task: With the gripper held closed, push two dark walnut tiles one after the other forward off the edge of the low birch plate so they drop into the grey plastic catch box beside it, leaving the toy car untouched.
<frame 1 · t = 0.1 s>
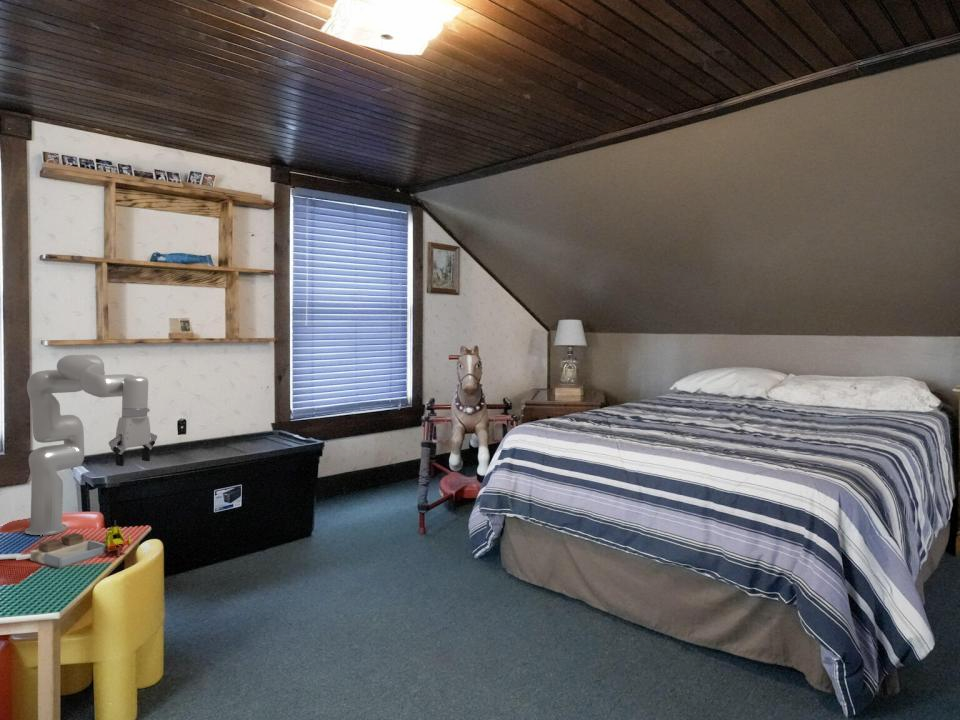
hand: (133, 463, 206), 31 cm above the table, tool pointing down, fingers open, 9 cm apart
tile b: (50, 549, 199), point 3 cm above the table, touching plate
tile a: (71, 543, 206), point 3 cm above the table, touching plate
toy car: (114, 550, 210), on the table
catch box: (75, 559, 200), on the table
plate: (61, 554, 203), on the table
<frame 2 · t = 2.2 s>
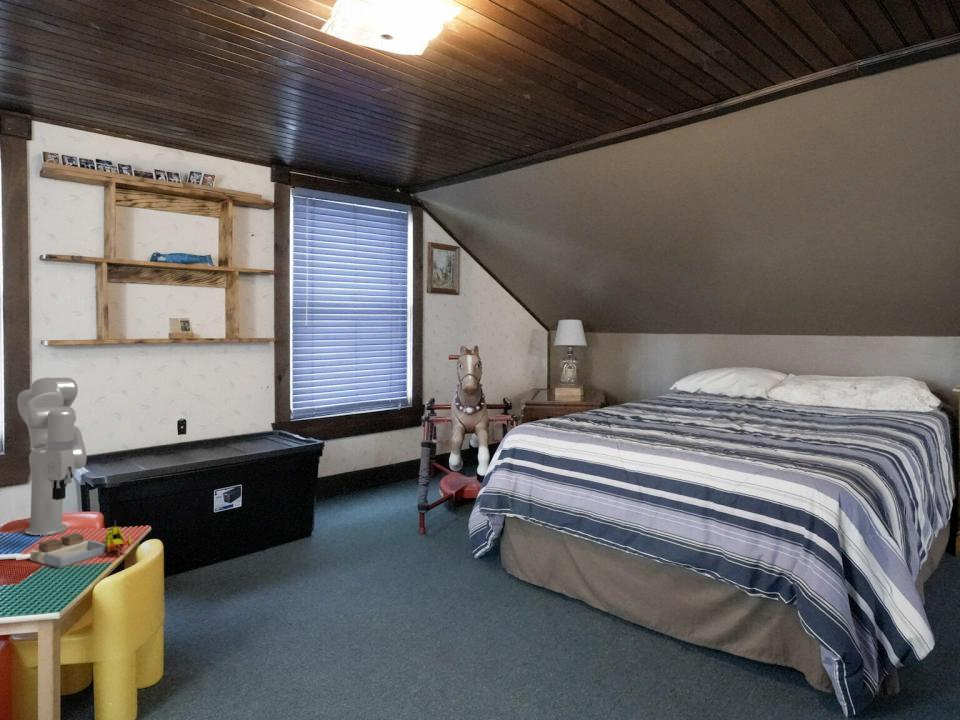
hand: (58, 498, 208), 17 cm above the table, tool pointing down, fingers closed
nothing on the table moved.
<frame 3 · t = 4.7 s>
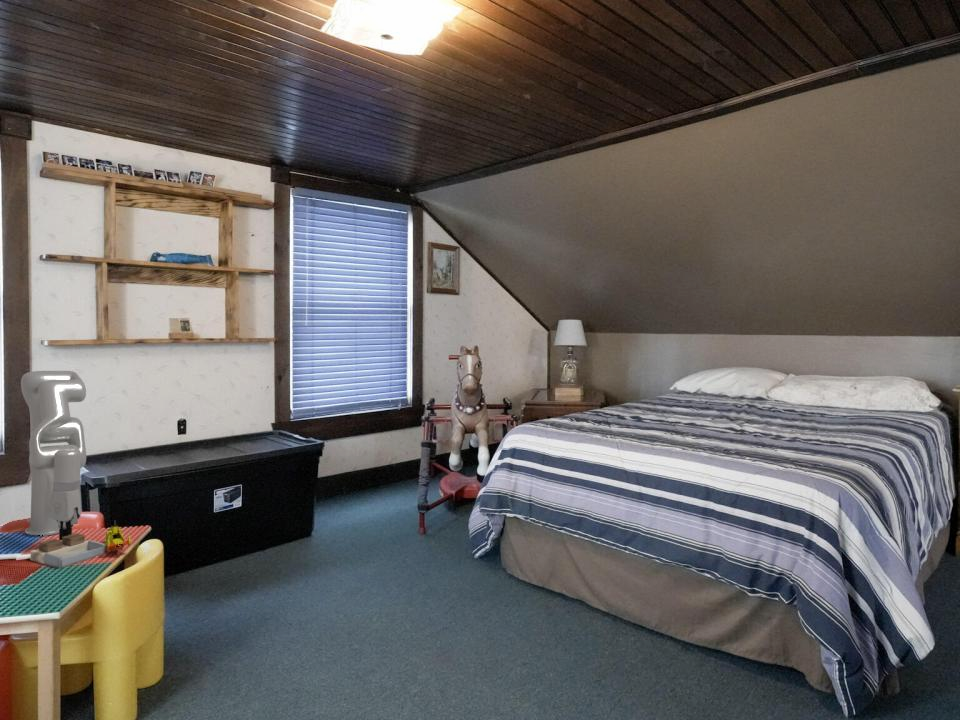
hand: (65, 539, 207), 4 cm above the table, tool pointing down, fingers closed
tile a: (73, 543, 205), point 3 cm above the table, touching gripper
everything else where it was.
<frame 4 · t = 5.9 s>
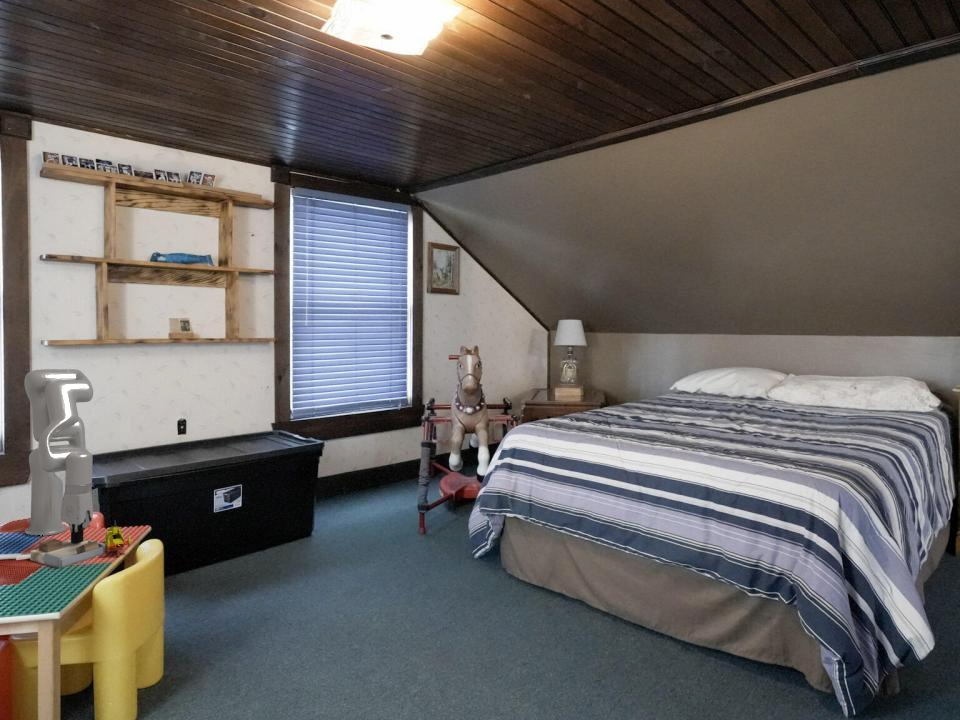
hand: (77, 542, 205), 4 cm above the table, tool pointing down, fingers closed
tile a: (86, 544, 203), point 4 cm above the table, tilted 152°, touching catch box
everything else where it was.
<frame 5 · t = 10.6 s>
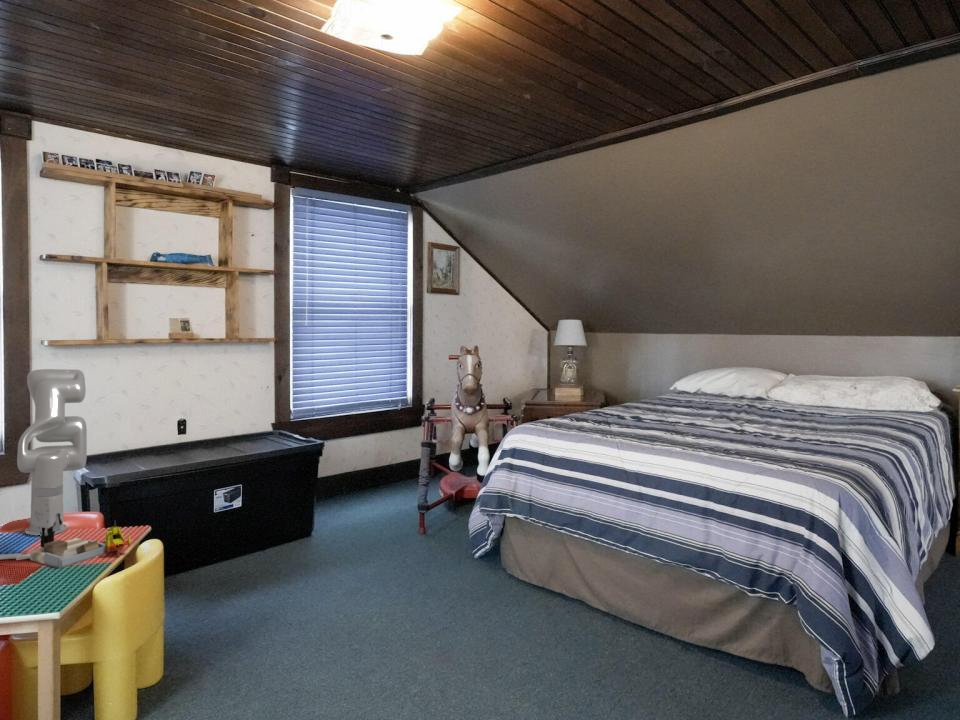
hand: (47, 546, 200), 4 cm above the table, tool pointing down, fingers closed
tile b: (55, 550, 198), point 3 cm above the table, touching gripper, plate
everything else where it was.
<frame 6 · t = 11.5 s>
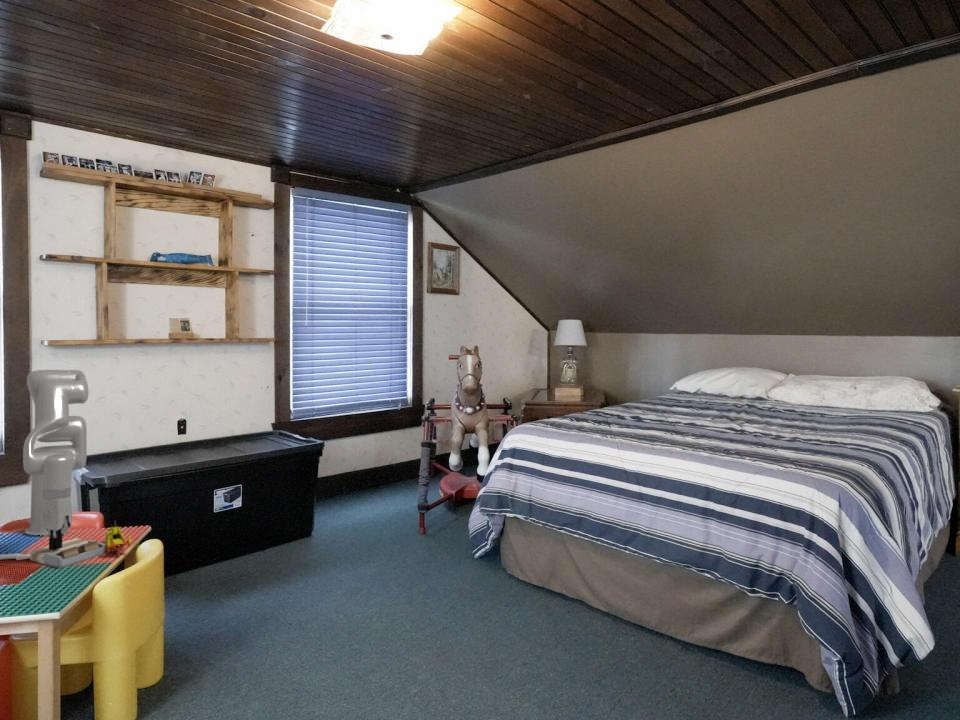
hand: (55, 548, 198), 4 cm above the table, tool pointing down, fingers closed
tile b: (65, 550, 196), point 4 cm above the table, tilted 149°, touching catch box
everything else where it was.
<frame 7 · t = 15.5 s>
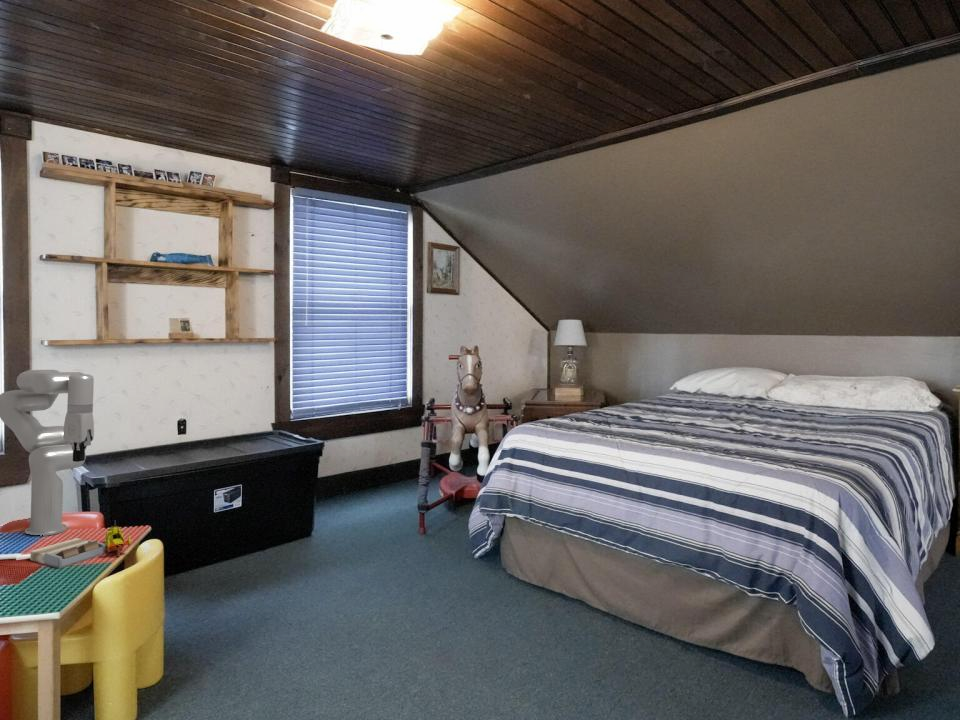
hand: (78, 460, 214), 29 cm above the table, tool pointing down, fingers closed
nothing on the table moved.
at the end: tile a inside the target area (3.6 cm from its centre), point 3.8 cm above the table; tile b inside the target area (3.4 cm from its centre), point 3.8 cm above the table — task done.
